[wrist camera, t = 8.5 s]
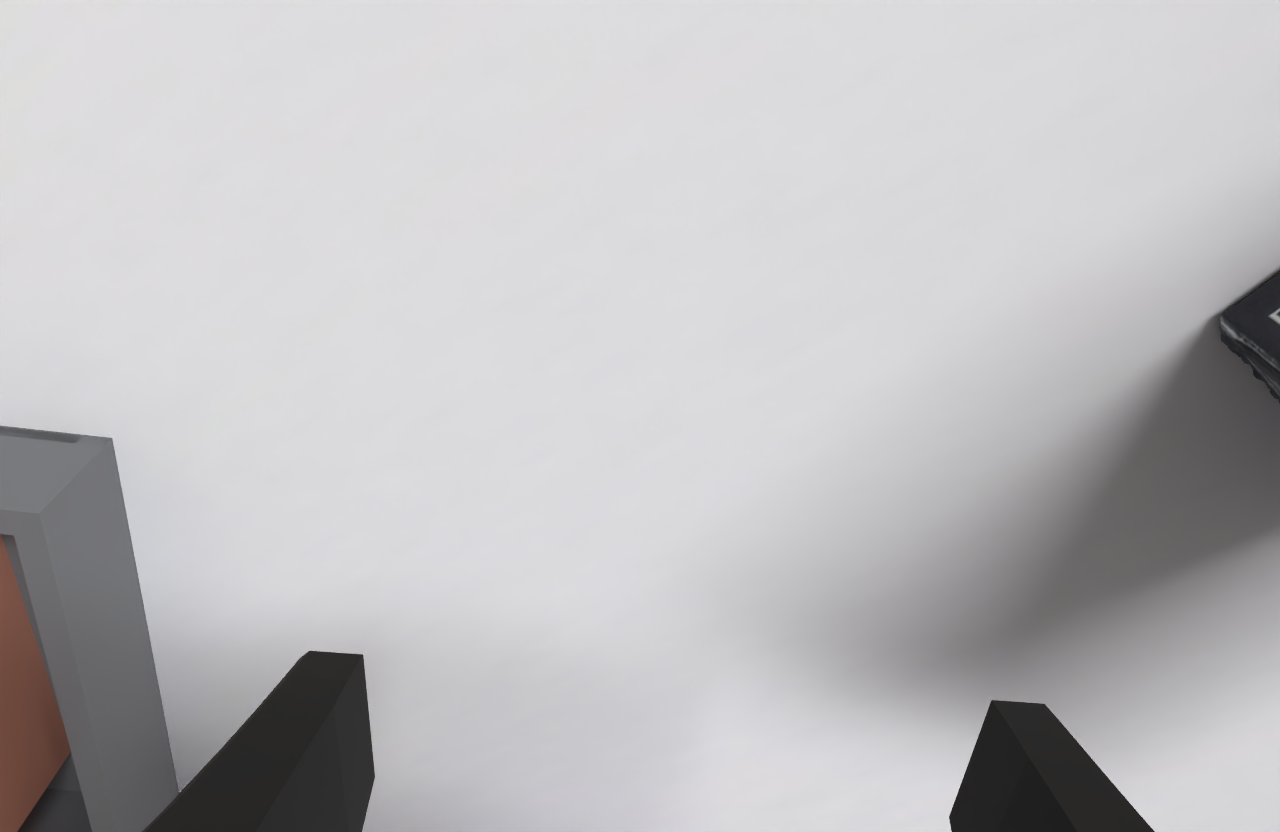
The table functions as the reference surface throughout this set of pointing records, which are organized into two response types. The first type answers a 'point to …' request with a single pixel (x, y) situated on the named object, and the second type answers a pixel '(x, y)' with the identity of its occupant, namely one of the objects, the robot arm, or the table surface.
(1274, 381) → the small box
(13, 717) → the terracotta crate
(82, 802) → the charcoal crate
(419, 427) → the table surface
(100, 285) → the table surface
